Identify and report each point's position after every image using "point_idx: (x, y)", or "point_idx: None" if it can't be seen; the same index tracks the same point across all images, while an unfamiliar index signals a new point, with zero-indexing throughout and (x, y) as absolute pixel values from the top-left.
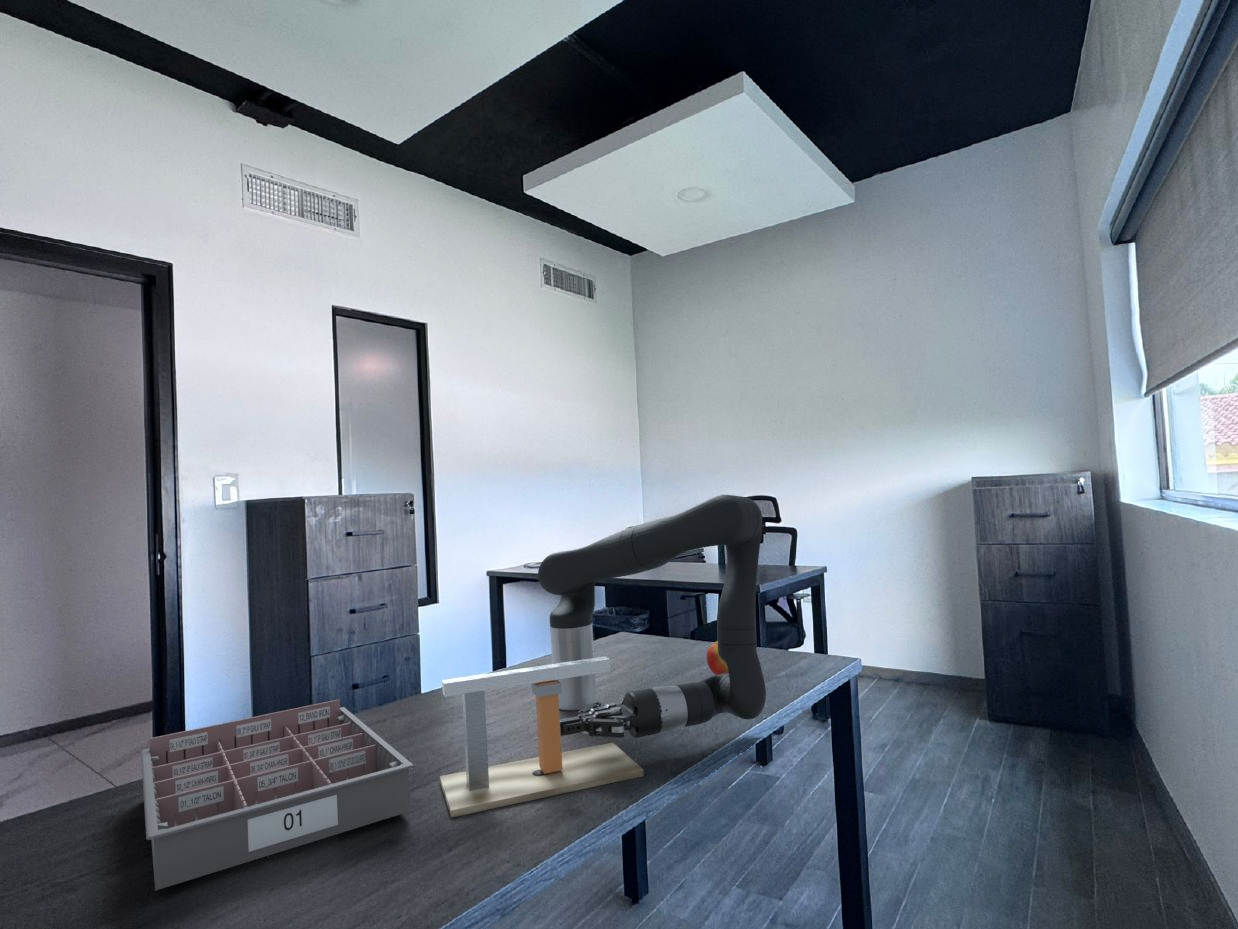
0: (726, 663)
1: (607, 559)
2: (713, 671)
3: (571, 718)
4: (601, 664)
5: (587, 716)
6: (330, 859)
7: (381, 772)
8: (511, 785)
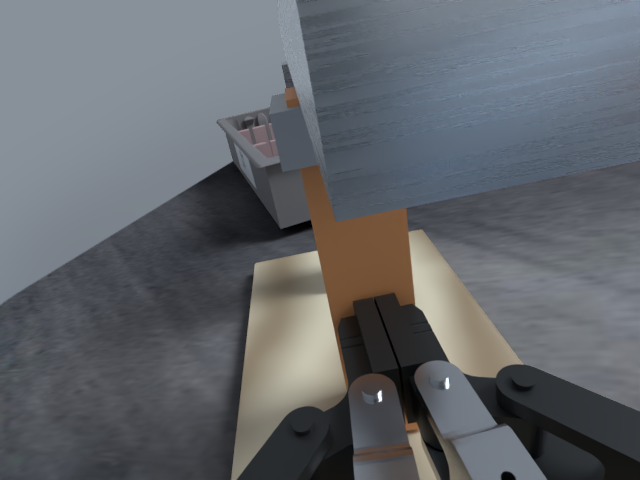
0: None
1: None
2: None
3: (395, 336)
4: (290, 16)
5: (390, 408)
6: (226, 213)
7: (251, 153)
8: (317, 326)
